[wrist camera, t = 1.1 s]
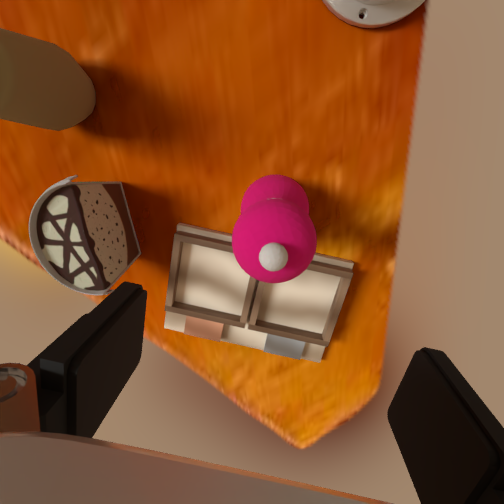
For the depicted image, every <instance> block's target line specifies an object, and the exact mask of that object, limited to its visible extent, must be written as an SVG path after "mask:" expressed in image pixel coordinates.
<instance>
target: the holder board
mask: <svg viewBox="0 0 504 504" xmlns="http://www.w3.org/2000/svg"><path fill="white" fill-rule="evenodd" d="M353 265H354V263H353V262H352V261H350V260H346V259H341V258H337V257H332V256H328V255H323V254H319V253H315V255H314V257H313V260H312V261H311V263H310V264H309V266H308V267H307V269H306V270H305V271H304V272H303V273H301V274H300V275H299V276H297V277H296V278H294V279H292V280H289V281H287V282H282V283H266V282H262V281H259V280H257V279H254V278H252V277H251V276H250V275H248V274H247V273H246V272H245V271H244V270H243V269H242V268H241V267H240V265H239V264H238V262H237V260H236V258H235V256H234V253H233V248H232V234H229V233H224V232H220V231H215V230H211V229H206V228H202V227H197V226H193V225H188V224H184V223H179V224H177V232H176V233H175V234H174V242H173V249H172V257H171V265H170V273H169V281H168V288H167V296H166V304H165V311H166V316H165V324H164V328H167V329H171V330H176V331H180V332H184V334H187V335H191V336H196V337H200V338H205V339H209V340H214V341H218V342H220V341H225V342H229V343H234V344H238V345H243V346H247V347H252V348H256V349H261V350H264V352H268V353H272V354H276V355H281V356H285V357H290V358H294V359H299V360H300V358H301V359H306V360H310V361H314V362H319V363H320V361H321V358H322V355H323V352H324V349H325V347H328V345H329V342H330V339H331V336H332V333H333V331H334V328H335V325H336V322H337V319H338V316H339V313H340V310H341V308H342V305H343V302H344V299H345V296H346V293H347V290H348V287H349V285H350V282H351V279H352V276H353V272H352V268H353Z"/></svg>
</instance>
